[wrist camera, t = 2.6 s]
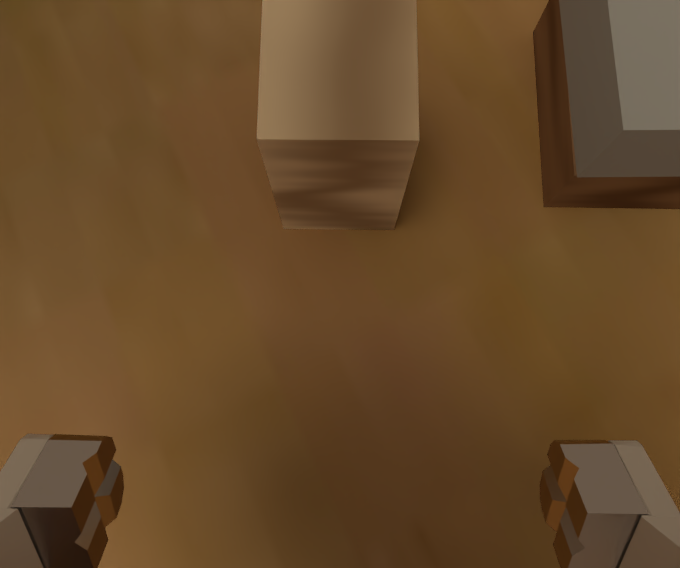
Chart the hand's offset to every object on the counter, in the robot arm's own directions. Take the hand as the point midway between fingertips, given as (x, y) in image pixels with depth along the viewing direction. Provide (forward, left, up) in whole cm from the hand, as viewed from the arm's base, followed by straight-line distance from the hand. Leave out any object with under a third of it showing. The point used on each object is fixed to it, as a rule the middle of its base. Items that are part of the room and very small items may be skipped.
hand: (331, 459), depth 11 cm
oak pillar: (-6, +10, -14) cm, 18 cm away
